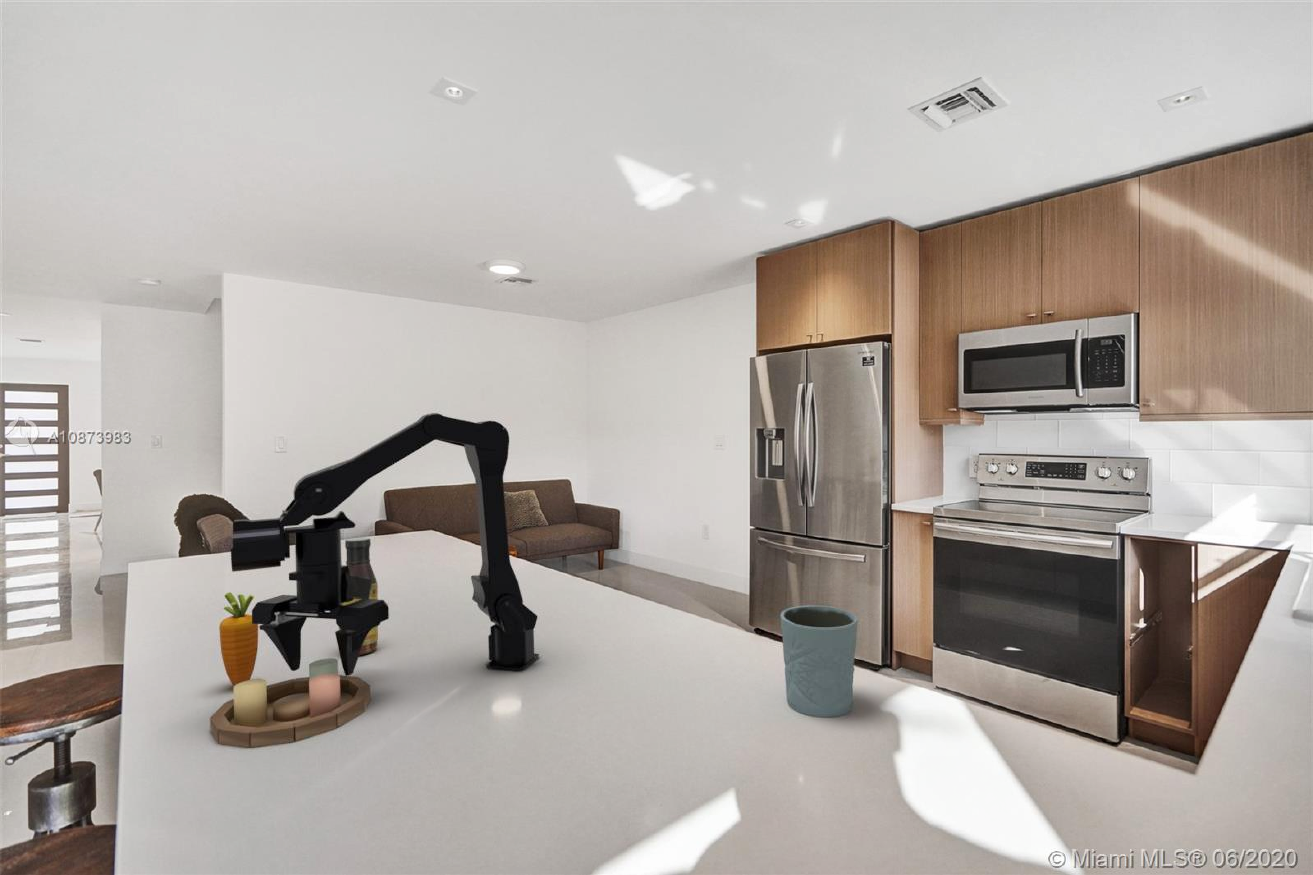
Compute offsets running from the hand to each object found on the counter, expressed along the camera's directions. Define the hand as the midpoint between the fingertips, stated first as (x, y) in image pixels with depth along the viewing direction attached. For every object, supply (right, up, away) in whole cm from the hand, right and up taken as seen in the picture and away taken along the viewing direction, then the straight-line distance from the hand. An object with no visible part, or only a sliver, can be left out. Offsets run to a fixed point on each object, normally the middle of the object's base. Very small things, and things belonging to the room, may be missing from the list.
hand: (322, 672), depth 90 cm
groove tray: (-1, -5, -5) cm, 7 cm away
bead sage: (0, -4, 0) cm, 4 cm away
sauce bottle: (-5, -5, +22) cm, 23 cm away
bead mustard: (-5, -4, -7) cm, 10 cm away
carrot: (-15, -5, +5) cm, 17 cm away
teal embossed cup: (+69, -3, -4) cm, 70 cm away
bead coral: (+4, -4, -6) cm, 8 cm away
